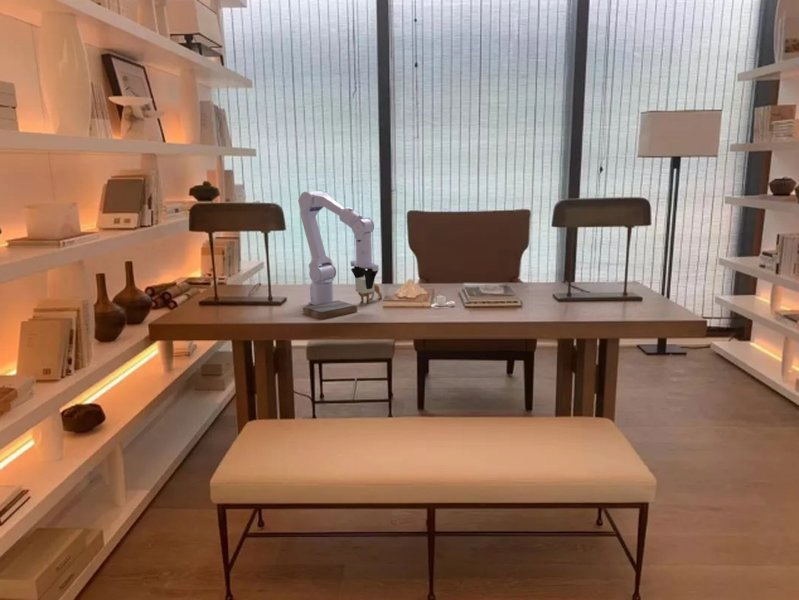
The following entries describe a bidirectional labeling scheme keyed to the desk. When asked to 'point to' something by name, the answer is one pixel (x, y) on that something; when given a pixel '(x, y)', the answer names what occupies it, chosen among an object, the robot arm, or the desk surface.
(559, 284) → the desk surface
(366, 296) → the lion figurine
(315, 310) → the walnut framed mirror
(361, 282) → the sage block
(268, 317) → the desk surface
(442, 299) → the teacup and saucer
